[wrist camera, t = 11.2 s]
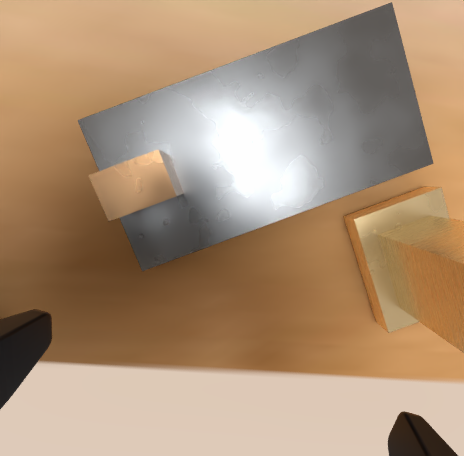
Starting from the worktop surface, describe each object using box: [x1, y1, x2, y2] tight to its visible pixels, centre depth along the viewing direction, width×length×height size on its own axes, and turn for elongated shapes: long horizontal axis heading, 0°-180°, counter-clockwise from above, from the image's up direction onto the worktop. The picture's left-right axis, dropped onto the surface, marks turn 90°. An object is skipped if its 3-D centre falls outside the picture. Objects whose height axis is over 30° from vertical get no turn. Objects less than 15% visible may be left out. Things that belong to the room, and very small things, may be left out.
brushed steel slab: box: [78, 2, 433, 271], centre depth 15 cm, size 16×8×5 cm, turn 110°
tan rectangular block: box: [343, 187, 464, 353], centre depth 14 cm, size 5×7×10 cm
